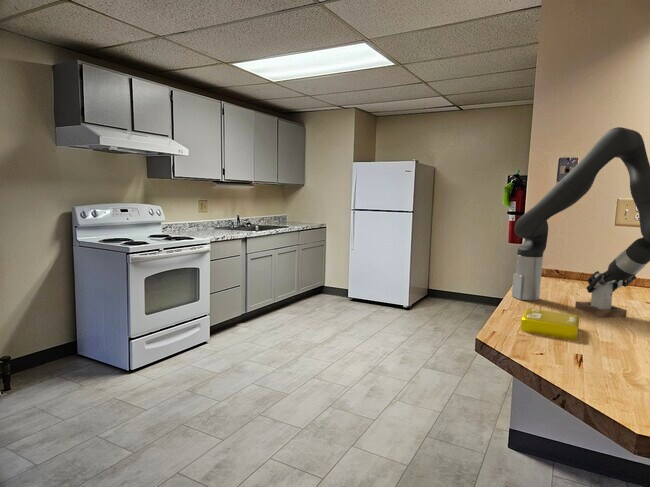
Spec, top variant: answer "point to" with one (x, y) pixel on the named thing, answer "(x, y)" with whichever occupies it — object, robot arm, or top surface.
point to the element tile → (550, 324)
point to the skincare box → (602, 296)
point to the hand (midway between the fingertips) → (598, 290)
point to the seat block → (601, 310)
